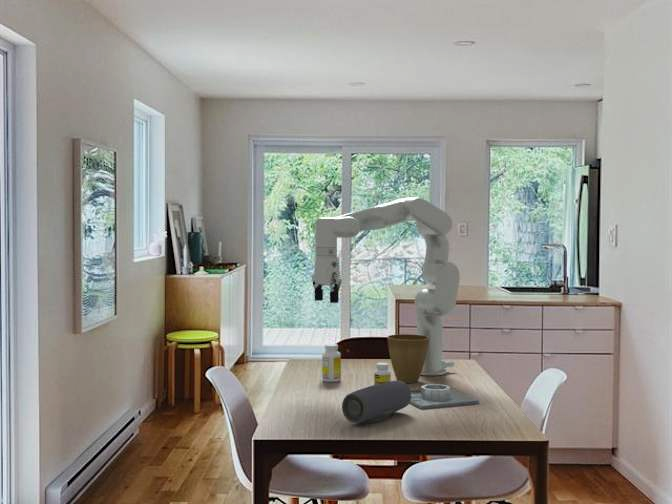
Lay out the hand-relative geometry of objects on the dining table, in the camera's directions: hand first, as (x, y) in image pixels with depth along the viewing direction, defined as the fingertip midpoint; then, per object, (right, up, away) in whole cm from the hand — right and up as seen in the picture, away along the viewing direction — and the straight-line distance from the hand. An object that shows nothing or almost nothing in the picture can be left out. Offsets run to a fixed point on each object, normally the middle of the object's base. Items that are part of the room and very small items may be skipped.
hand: (326, 301), depth 274 cm
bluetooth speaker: (+15, -31, -48) cm, 59 cm away
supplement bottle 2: (+19, -30, -14) cm, 38 cm away
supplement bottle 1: (+2, -29, +7) cm, 30 cm away
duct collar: (+35, -30, -24) cm, 52 cm away
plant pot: (+29, -29, +5) cm, 41 cm away
